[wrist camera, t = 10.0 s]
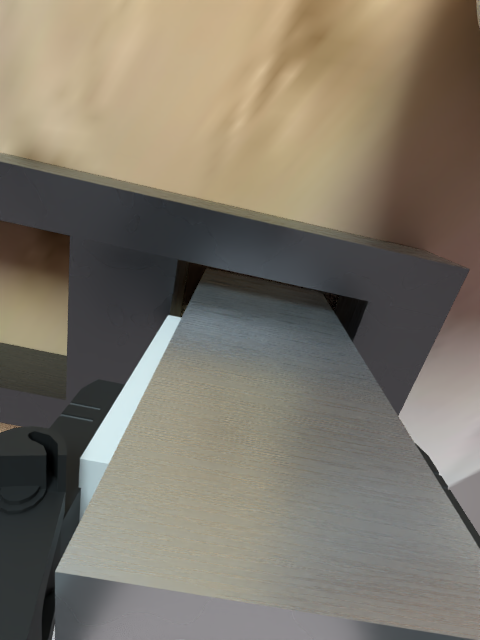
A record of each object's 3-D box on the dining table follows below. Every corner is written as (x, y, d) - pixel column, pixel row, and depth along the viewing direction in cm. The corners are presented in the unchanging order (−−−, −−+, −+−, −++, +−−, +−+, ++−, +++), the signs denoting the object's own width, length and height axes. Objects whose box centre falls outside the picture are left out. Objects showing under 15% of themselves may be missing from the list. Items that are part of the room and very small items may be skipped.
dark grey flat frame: (-98, 354, 16) (-169, 390, 14) (-142, 119, 13) (-253, 103, 10) (344, 441, 18) (361, 490, 15) (425, 250, 14) (469, 269, 11)
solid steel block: (188, 369, 16) (55, 777, 5) (206, 267, 14) (54, 571, 3) (291, 389, 17) (372, 818, 5) (321, 292, 15) (542, 650, 4)
